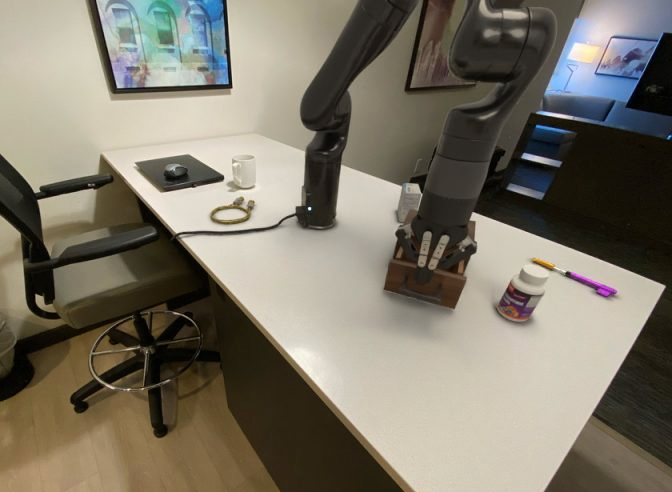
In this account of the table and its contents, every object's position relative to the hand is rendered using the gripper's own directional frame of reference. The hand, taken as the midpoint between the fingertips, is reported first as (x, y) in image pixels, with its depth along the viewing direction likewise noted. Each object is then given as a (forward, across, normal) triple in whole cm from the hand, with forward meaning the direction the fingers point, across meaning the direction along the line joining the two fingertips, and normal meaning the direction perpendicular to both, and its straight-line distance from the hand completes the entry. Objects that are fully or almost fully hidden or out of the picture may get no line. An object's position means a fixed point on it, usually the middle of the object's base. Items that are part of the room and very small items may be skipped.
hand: (420, 282), depth 58 cm
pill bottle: (+7, +17, +8) cm, 20 cm away
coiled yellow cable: (+7, -54, +21) cm, 59 cm away
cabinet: (+7, 0, +21) cm, 22 cm away
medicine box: (+7, -9, +42) cm, 44 cm away
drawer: (+6, 0, +6) cm, 9 cm away
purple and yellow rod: (+7, +29, +27) cm, 40 cm away
